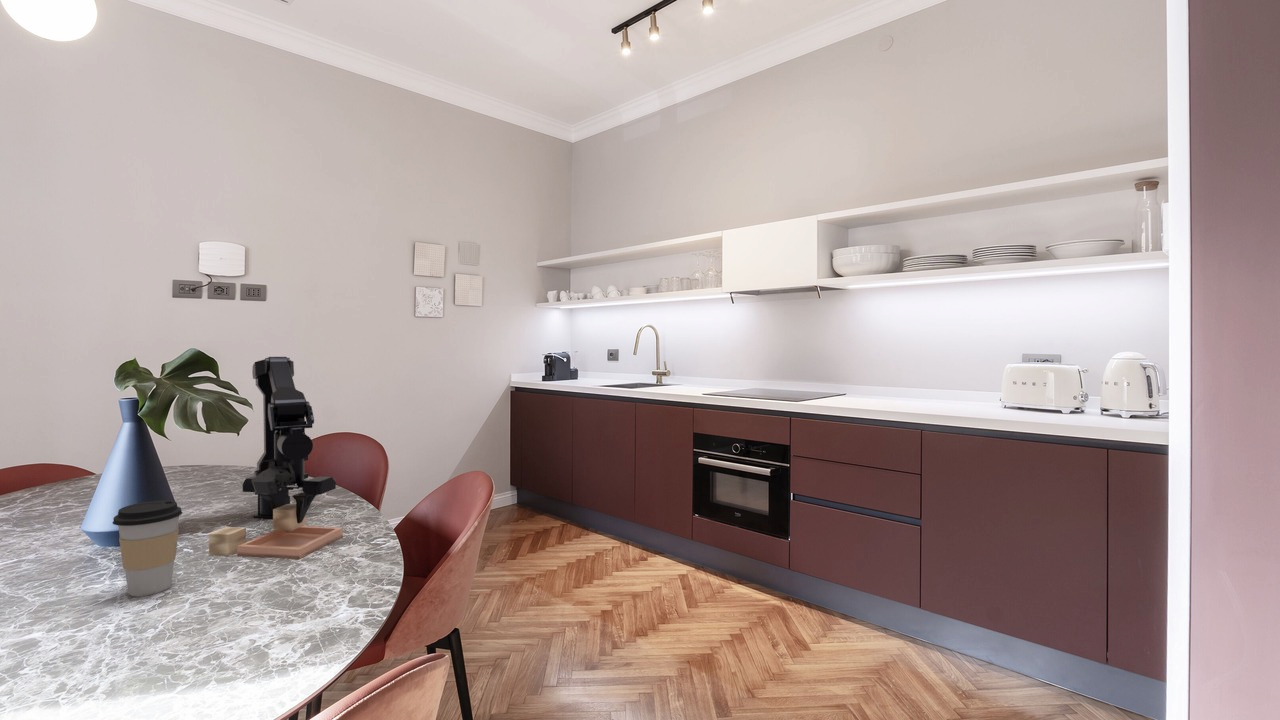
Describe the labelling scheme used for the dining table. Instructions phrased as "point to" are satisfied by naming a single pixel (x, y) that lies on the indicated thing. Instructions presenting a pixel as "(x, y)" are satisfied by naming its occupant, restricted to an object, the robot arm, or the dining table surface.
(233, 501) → the dining table surface
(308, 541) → the tray
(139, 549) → the coffee cup
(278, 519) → the block
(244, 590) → the dining table surface
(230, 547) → the block
